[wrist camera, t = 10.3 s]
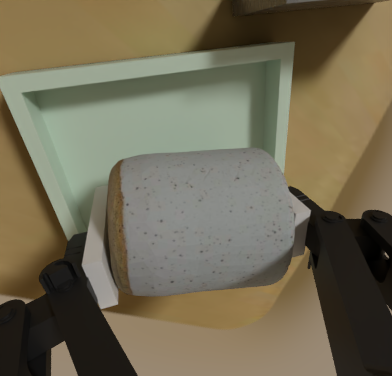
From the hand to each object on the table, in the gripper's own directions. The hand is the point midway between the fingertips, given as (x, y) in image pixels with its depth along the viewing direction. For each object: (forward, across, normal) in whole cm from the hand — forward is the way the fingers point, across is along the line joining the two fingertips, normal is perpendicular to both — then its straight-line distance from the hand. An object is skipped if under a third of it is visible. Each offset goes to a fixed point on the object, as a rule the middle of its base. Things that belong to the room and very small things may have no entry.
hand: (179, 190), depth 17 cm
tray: (+3, 0, 0) cm, 3 cm away
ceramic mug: (0, 0, -1) cm, 1 cm away
